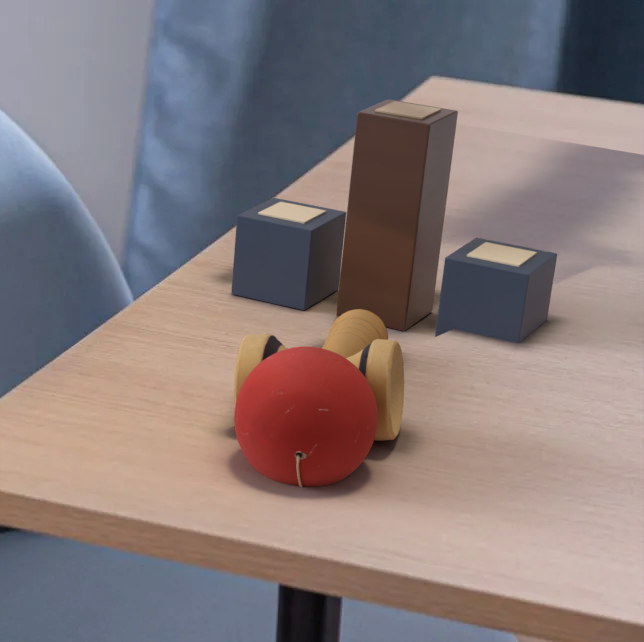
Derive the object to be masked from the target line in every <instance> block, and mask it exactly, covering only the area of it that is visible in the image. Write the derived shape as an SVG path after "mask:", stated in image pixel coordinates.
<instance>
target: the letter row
mask: <svg viewBox="0 0 644 642" xmlns="http://www.w3.org/2000/svg"><path fill="white" fill-rule="evenodd" d="M346 217H347V211H345V210H338V209H333V208H329V207H323V206H320V205H319V206H317V205H313V204H308V203H303V202H298V201H293V200H288V199H284V198H283V199H282V198H277V197H272V198H270V199H268V200H265V201H264V202H262V203H260V204H257V205H256V206H254V207H251V208H249V209H247V210H245V211H243V212H241V213H239V214H237V215H236V226H235V240H234V252H233V264H232V265H233V266H232V279H231V293H230V294H231V295H234V296H239V297H243V298H247V299H248V298H249V299H252V300H256V301H261V302H265V303H269V304H273V305H279V306H283V307H287V308H292V309H296V310H299V311H306V310H307V309H309V308H311V307H312V306H314V305H315V304H318V303H319V302H321V301H322V300H323V299H325V298H327V297H329V296H330V295H332V294H334V293H335V292H337V291H339V285H340V275H341V265H342V256H343V246H344V237H345V227H346ZM557 258H558V253H557V252H552V251H547V250H542V249H537V248H532V247H526V246H521V245H516V244H512V243H506V242H501V241H496V240H491V239H486V238H480V237H474V238H473V239H471V240H470V241H469V242H467V243H465V244H464V245H462V246H461V247H459V248H457V249H456V250H455V251H453V252H452V253H450V254H448V255H447V256H445V258H444V263H443V272H442V277H441V278H442V280H441V285H440V293H439V294H440V295H439V301H438V309H437V317H436V326H435V333H434V338H437V337H439V336H441V335H444V334H446V333H448V332H450V331H453V330H457V331H463V332H466V333H472V334H475V335H481V336H484V337H489V338H494V339H497V340H502V341H507V342H512V343H516V344H520V343H521V342H522V341H523V340H525V339H526V338H527V337H528V336H529V335H531V334H532V333H533V332H534V331H535V330H537V329H538V328H539V327H541V326H542V325H543V324H544V323H545V322H547V321H548V315H549V309H550V305H551V296H552V291H553V285H554V279H555V278H554V277H555V272H556V266H557Z"/></svg>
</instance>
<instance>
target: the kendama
mask: <svg viewBox="0 0 644 642" xmlns="http://www.w3.org/2000/svg"><path fill="white" fill-rule="evenodd" d="M404 366H405V365H404V357H403V351H402V346H401V344H400V343H399V341H397V340H394V339H389V333H388V329H387V327H385V325H384V323H383V321H382V320H381V319H380V318H379V317H378V316H377V315H375V314H374V313H372V312H370V311H367V310H363V309H355V310H351V311H347V312H345V313H344V314H342V315H341V316H337V317H336V319H335V320H334V322H333V323H332V325H331V327H330V329H329V332H328V335H327V337H326V340H325V342H324V343H323V345H322V347H318V346H310V345H309V346H306V345H305V346H304V345H303V346H294V347H289V348H288V347H286V346H285V345H284V344H283V343H282V342H281V341H280V340H279V339H278V338H277V336H275V335H274V334H272V333H249V334H246V335H245V336H244V337H243V339H242V340H241V342H240V345H239V347H238V351H237V355H236V360H235V368H234V369H235V370H234V383H233V384H234V386H233V393H234V394H233V399H234V414H233V415H234V416H233V417H234V418H233V421H234V431H235V435H236V440H237V442H238V445H239V447H240V450H241V451H242V453H243V455H244V457H245V459H246V460H247V461H248V463H249V464H250V465H251V466H252V468H254V469H255V470H256V472H258V473H259V474H260V475H262V476H263V477H266V478H267V479H270V480H272V481H275V482H277V483H281V484H287V485H292V486H298V487H300V488H303V487H320V486H321V487H322V486H327V485H333V484H335V483H338V482H341V481H342V480H344V479H346V478H347V477H349V476H350V475H352V473H353V472H354V471H356V470H357V469H358V468H359V467H360V466H361V464H362V463H363V462H364V461H365V459H366V458H367V456H368V455H369V452H370V451H371V448H372V447H373V444H374V442H375V441H393V440H395V439H396V437H397V436H398V435H399V433H400V429H401V425H402V419H403V414H404V413H403V412H404V402H405V401H404V400H405V399H404V398H405V367H404Z"/></svg>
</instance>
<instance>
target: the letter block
mask: <svg viewBox="0 0 644 642" xmlns="http://www.w3.org/2000/svg"><path fill="white" fill-rule="evenodd" d="M458 115H459V111H458V110H457V109H450V108H443V107H439V106H433V105H432V106H431V105H426V104H421V103H415V102H414V103H413V102H407V101H401V100H396V99H386V100H383V101H381V102H378V103H376V104H374V105H371V106H369V107H367V108H365V109H362V110H360V111H358V112H357V114H356V122H355V133H354V142H353V149H352V150H353V151H352V160H351V169H350V180H349V190H348V197H347V207H346V209H347V210H346V221H345V230H344V240H343V250H342V260H341V269H340V279H339V289H338V293H337V294H338V295H337V303H336V304H337V305H336V316H337V317H339V316H341V315H342V314H344V313H345V312H347V311H351V310H355V309H363V310H367V311H370V312H372V313H374V314H375V315H377V316H378V317H379V318H380V319H381V320H382V321H383V323H384V325H385V328H390V329H394V330H398V331H402V332H405V331H407V330H408V329H409V328H410V327H412V326H414V325H415V324H416V323H418V322H419V321H421V320H422V319H423V318H425V317H426V316H428V315H429V314H431V313H432V312H433V308H434V301H435V292H436V285H437V277H438V270H439V262H440V255H441V245H442V240H443V239H442V238H443V232H444V231H443V230H444V224H445V216H446V209H447V201H448V193H449V186H450V185H449V184H450V177H451V170H452V169H451V168H452V162H453V154H454V146H455V137H456V130H457V123H458Z"/></svg>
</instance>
